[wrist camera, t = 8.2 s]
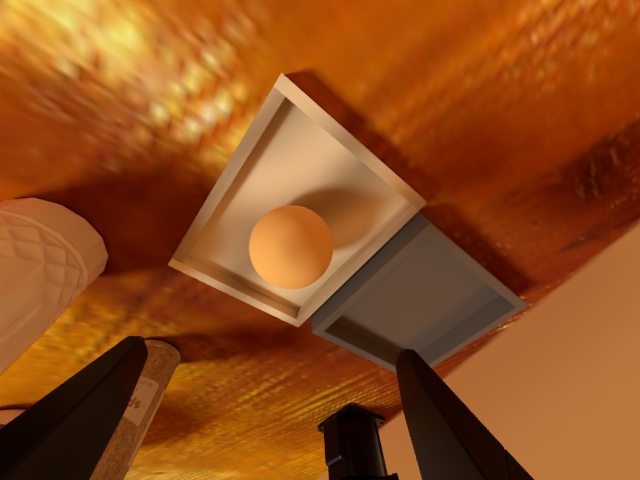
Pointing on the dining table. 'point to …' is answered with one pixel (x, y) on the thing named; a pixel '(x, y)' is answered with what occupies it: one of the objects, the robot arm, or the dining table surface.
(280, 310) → the tray
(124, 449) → the sprinkles bottle
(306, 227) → the ball
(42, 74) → the dining table surface
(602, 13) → the dining table surface
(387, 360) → the dish
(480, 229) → the dining table surface
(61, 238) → the white cup
